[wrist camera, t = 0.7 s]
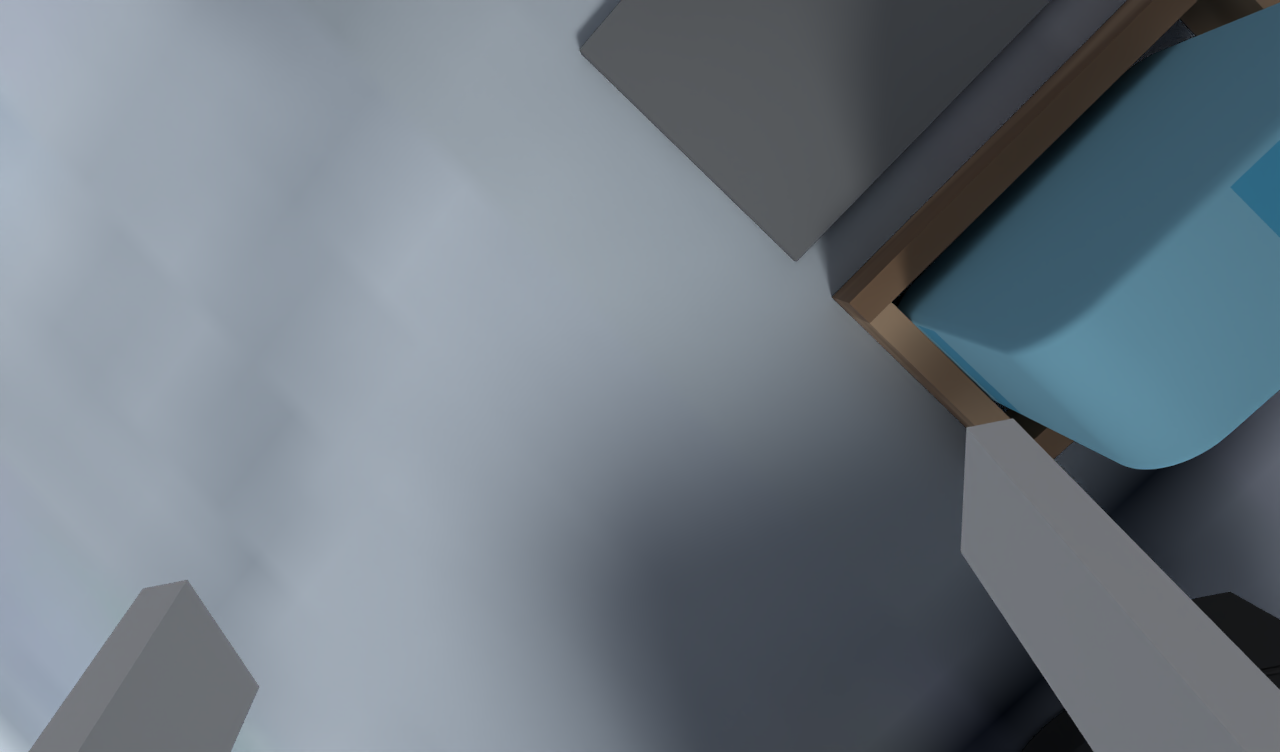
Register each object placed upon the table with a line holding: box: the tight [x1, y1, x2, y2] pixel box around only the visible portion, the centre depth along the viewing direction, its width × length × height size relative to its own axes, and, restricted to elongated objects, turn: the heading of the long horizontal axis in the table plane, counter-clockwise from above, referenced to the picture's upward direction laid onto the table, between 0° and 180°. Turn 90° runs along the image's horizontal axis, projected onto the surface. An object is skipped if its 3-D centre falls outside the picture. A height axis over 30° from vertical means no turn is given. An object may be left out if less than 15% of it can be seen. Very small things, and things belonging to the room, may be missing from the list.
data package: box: [898, 3, 1280, 469], centre depth 21 cm, size 12×4×12 cm, turn 138°
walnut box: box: [832, 0, 1280, 459], centre depth 25 cm, size 9×16×3 cm, turn 137°
